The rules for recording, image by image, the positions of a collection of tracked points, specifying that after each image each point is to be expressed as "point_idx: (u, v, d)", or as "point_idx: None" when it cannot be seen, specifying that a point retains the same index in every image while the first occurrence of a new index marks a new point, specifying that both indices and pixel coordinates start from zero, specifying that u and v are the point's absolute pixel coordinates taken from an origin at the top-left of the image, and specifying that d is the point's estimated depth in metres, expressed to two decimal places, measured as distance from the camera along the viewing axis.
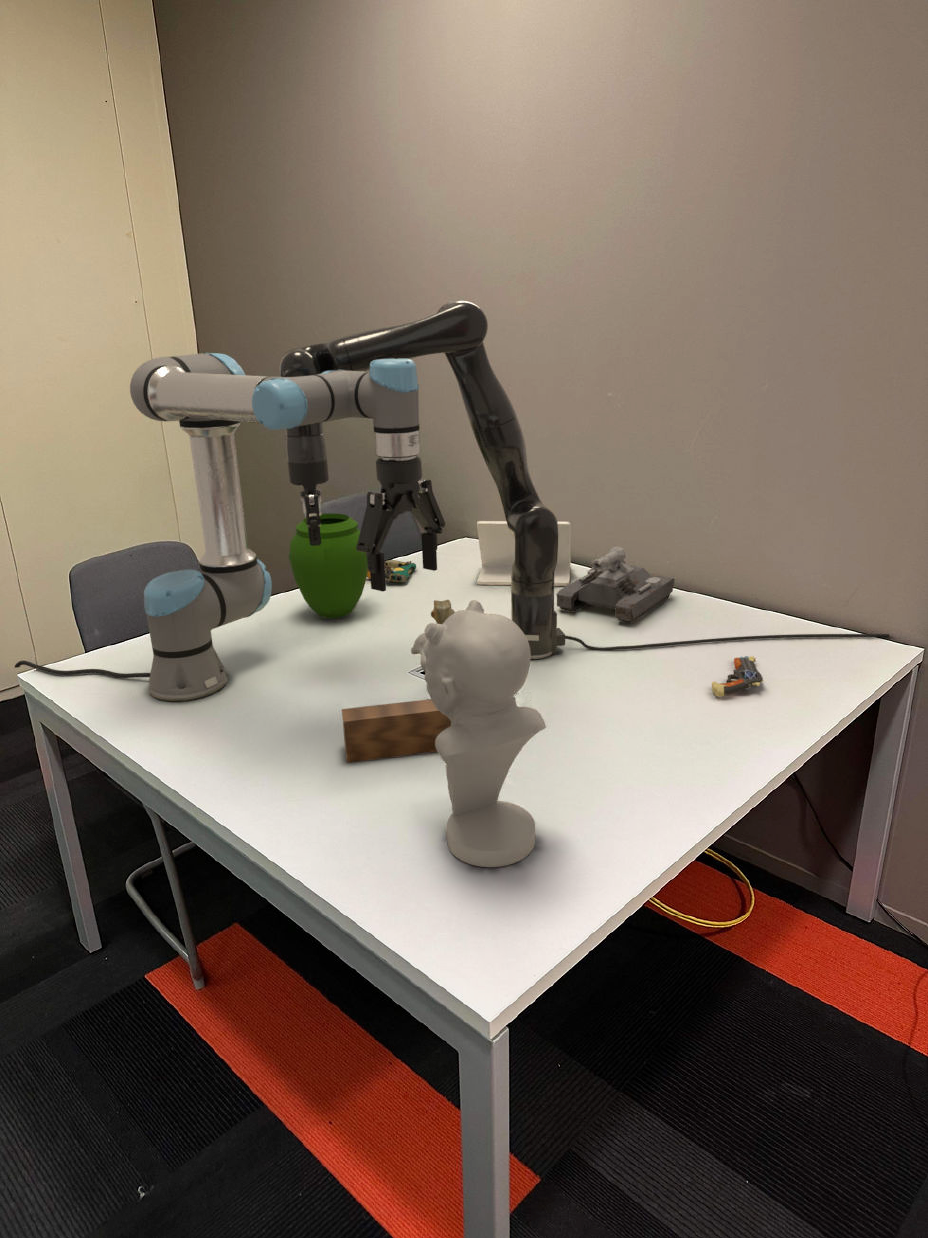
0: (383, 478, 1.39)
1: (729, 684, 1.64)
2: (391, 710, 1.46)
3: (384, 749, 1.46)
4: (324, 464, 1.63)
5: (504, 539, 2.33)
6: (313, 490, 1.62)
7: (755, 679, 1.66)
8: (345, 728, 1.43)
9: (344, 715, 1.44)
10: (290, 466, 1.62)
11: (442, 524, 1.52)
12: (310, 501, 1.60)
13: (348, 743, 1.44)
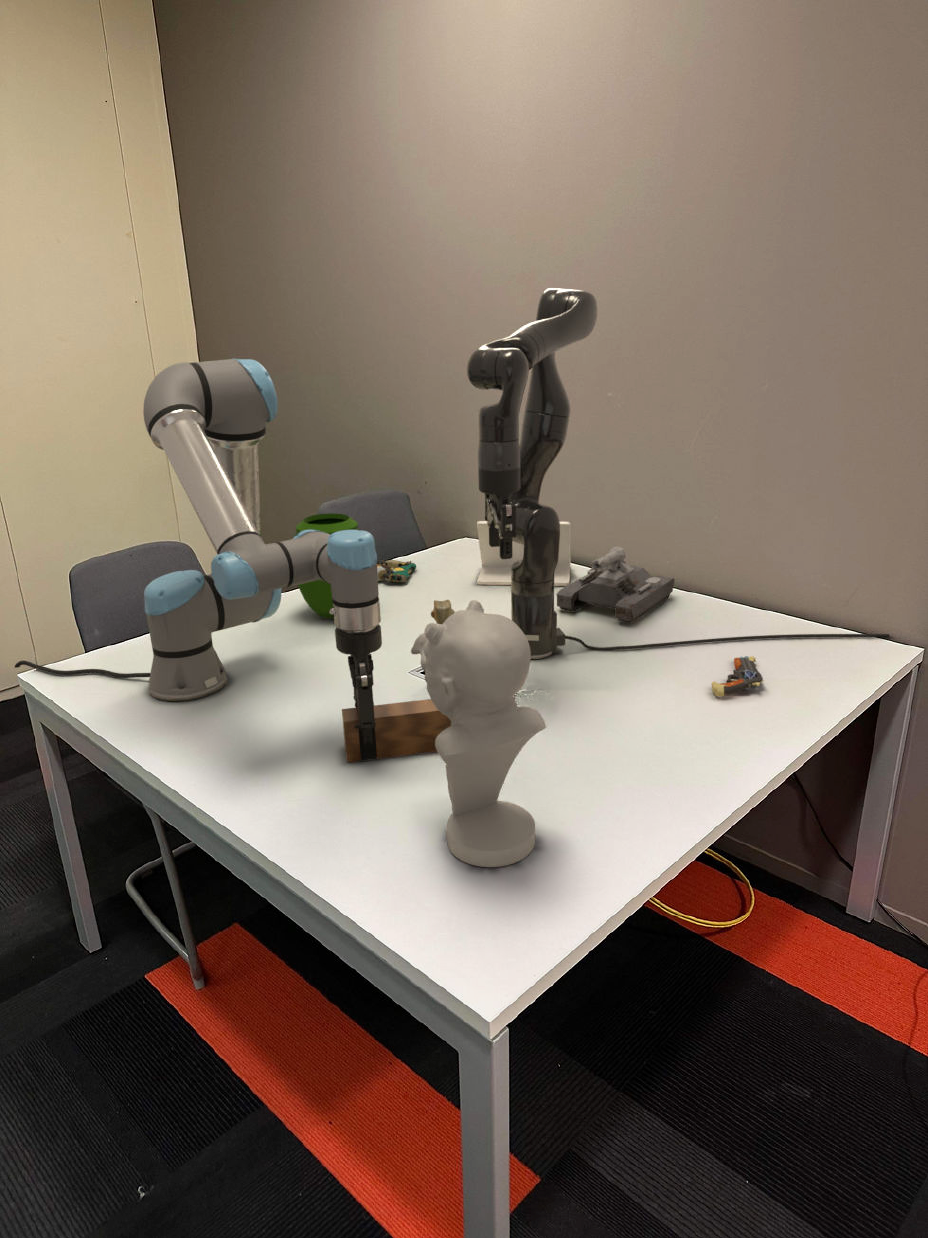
0: None
1: (729, 684, 1.64)
2: (391, 710, 1.46)
3: (384, 749, 1.46)
4: (519, 472, 1.51)
5: None
6: (507, 500, 1.51)
7: (755, 679, 1.66)
8: (345, 728, 1.43)
9: (344, 715, 1.44)
10: (483, 474, 1.51)
11: (359, 724, 1.40)
12: (507, 512, 1.48)
13: (348, 743, 1.44)
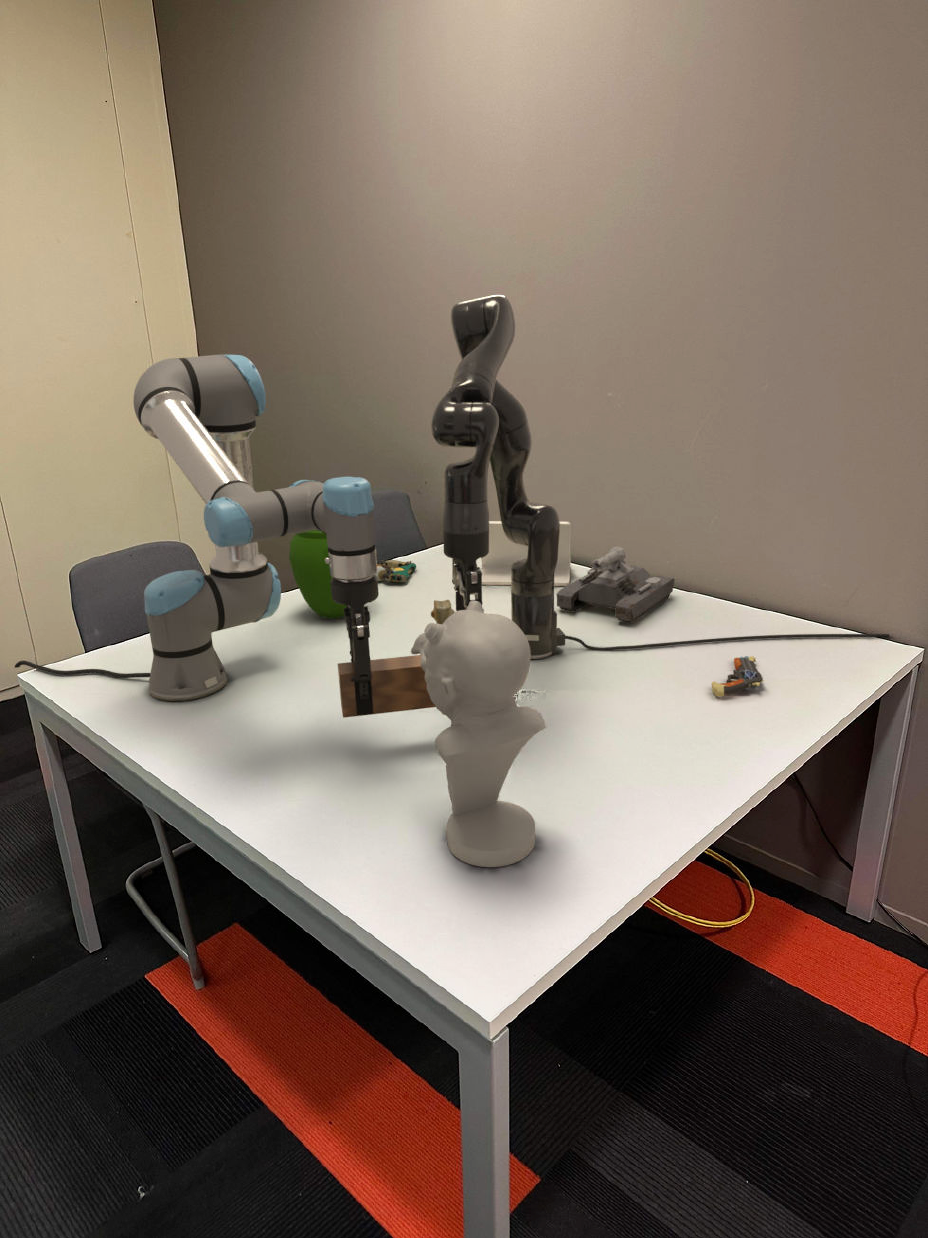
0: None
1: (729, 684, 1.64)
2: (388, 664, 1.43)
3: (381, 704, 1.43)
4: (487, 535, 1.39)
5: (504, 539, 2.33)
6: (474, 565, 1.39)
7: (755, 679, 1.66)
8: (341, 682, 1.40)
9: (340, 669, 1.41)
10: (448, 537, 1.38)
11: (355, 677, 1.37)
12: (472, 579, 1.36)
13: (344, 697, 1.41)
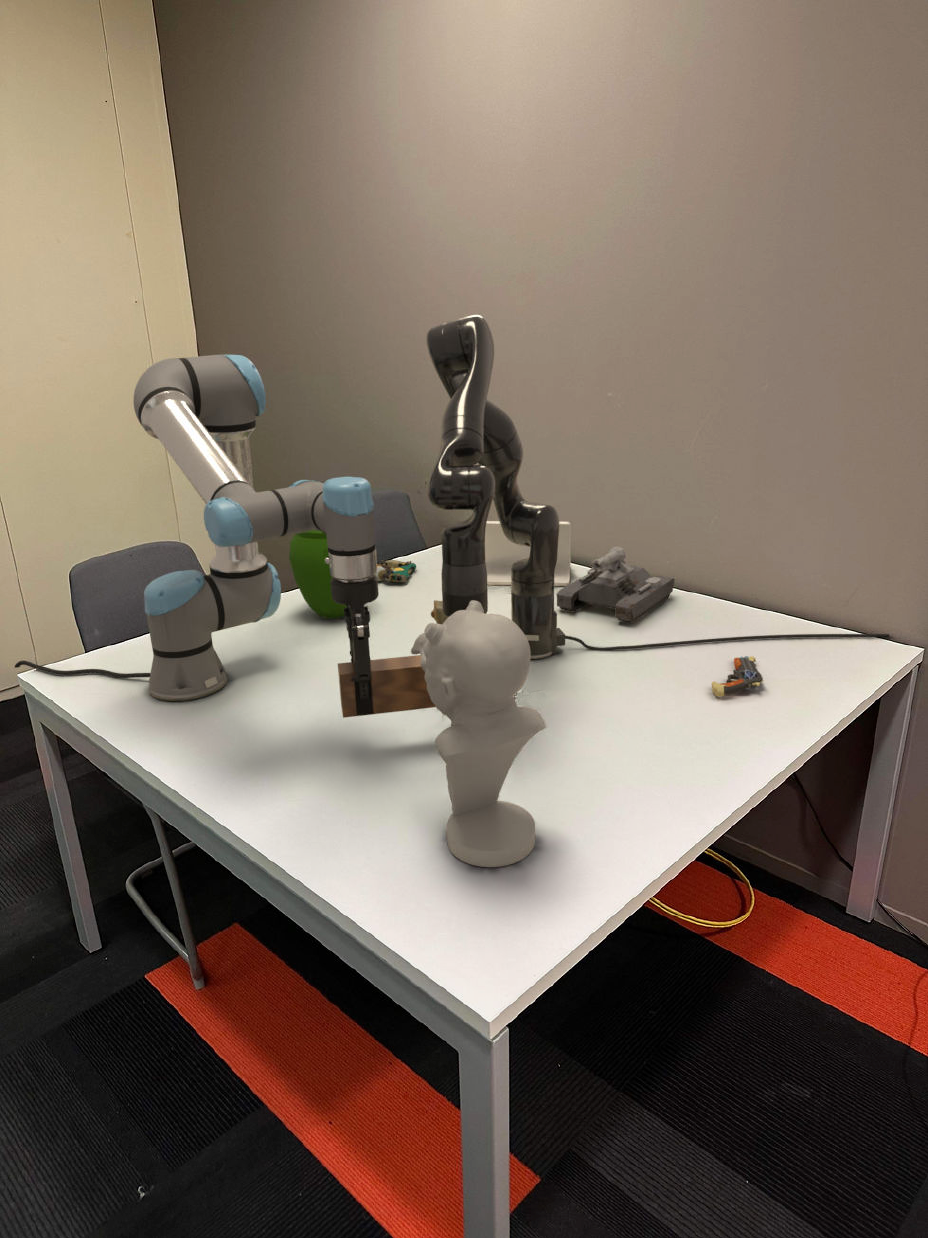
0: None
1: (729, 684, 1.64)
2: (388, 664, 1.43)
3: (381, 704, 1.43)
4: (485, 595, 1.40)
5: (504, 539, 2.33)
6: None
7: (755, 679, 1.66)
8: (341, 681, 1.40)
9: (340, 669, 1.41)
10: (447, 598, 1.39)
11: (355, 677, 1.37)
12: None
13: (344, 697, 1.41)
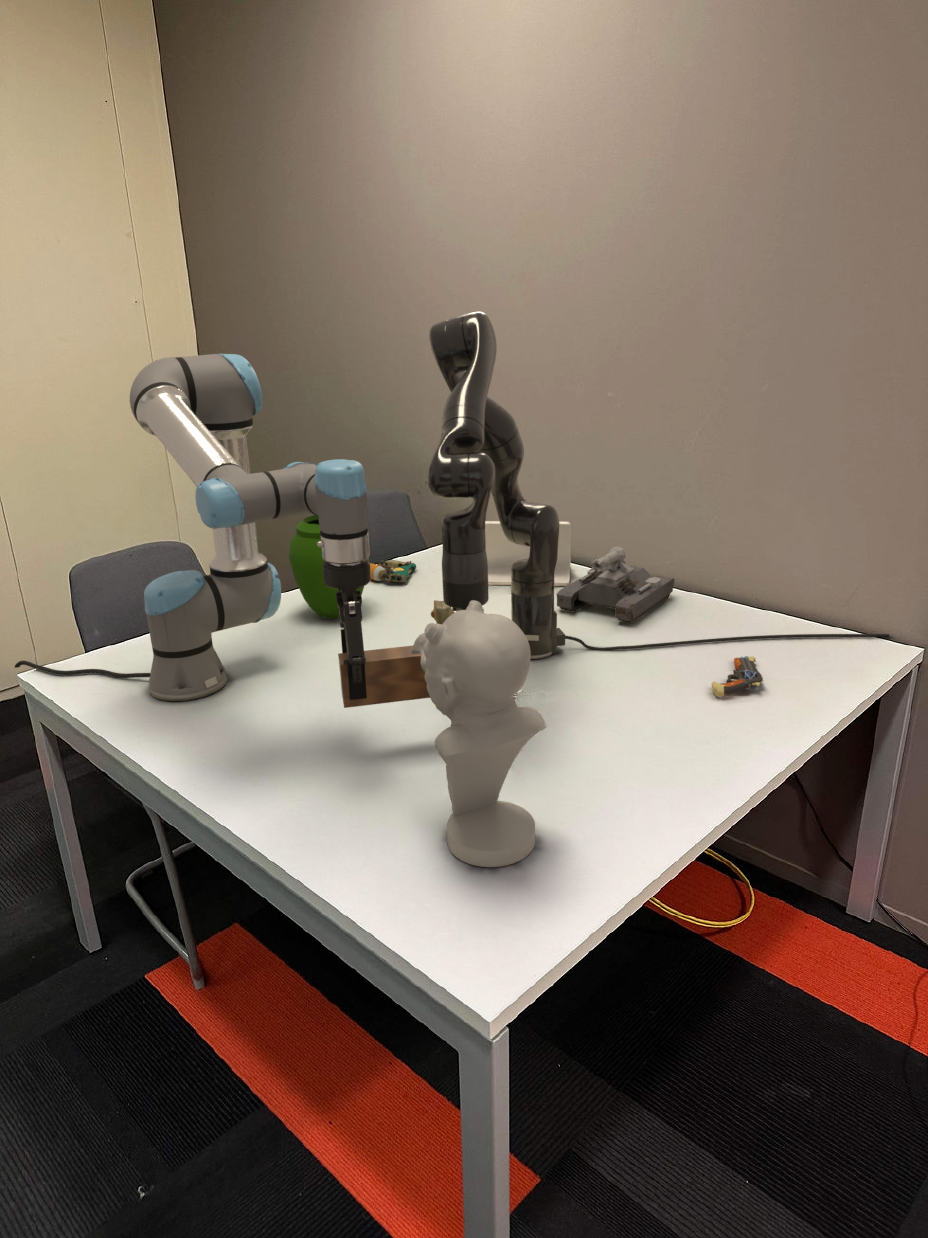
0: None
1: (729, 684, 1.64)
2: (389, 654, 1.42)
3: (382, 694, 1.42)
4: (486, 583, 1.39)
5: (504, 539, 2.33)
6: None
7: (755, 679, 1.66)
8: (342, 672, 1.39)
9: (340, 659, 1.41)
10: (447, 586, 1.38)
11: (348, 660, 1.32)
12: None
13: (345, 687, 1.40)
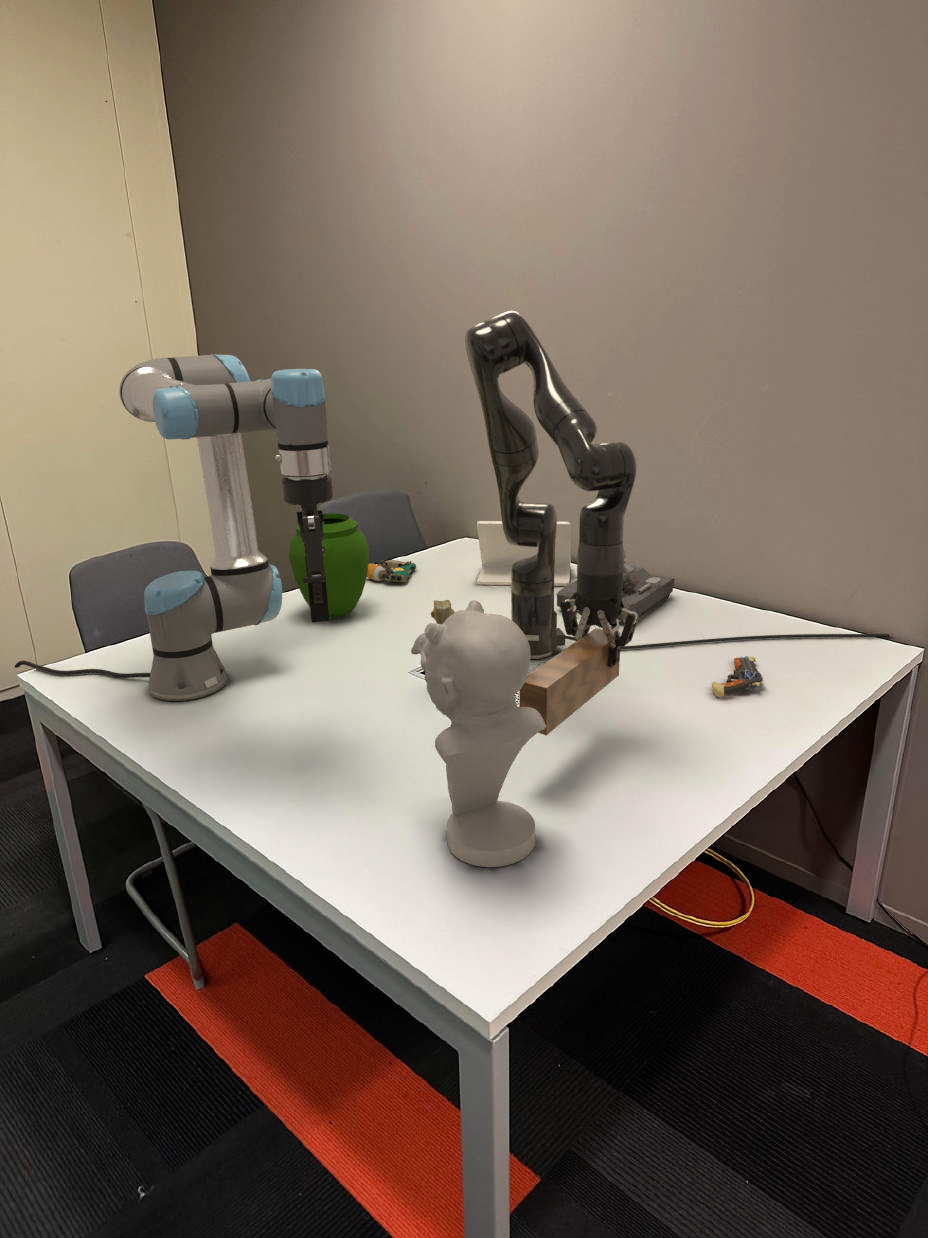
0: None
1: (729, 684, 1.64)
2: (561, 665, 1.33)
3: (567, 708, 1.33)
4: None
5: (504, 539, 2.33)
6: (623, 604, 1.39)
7: (755, 679, 1.66)
8: (547, 695, 1.26)
9: (534, 683, 1.27)
10: (600, 580, 1.36)
11: None
12: (634, 621, 1.38)
13: (548, 712, 1.28)
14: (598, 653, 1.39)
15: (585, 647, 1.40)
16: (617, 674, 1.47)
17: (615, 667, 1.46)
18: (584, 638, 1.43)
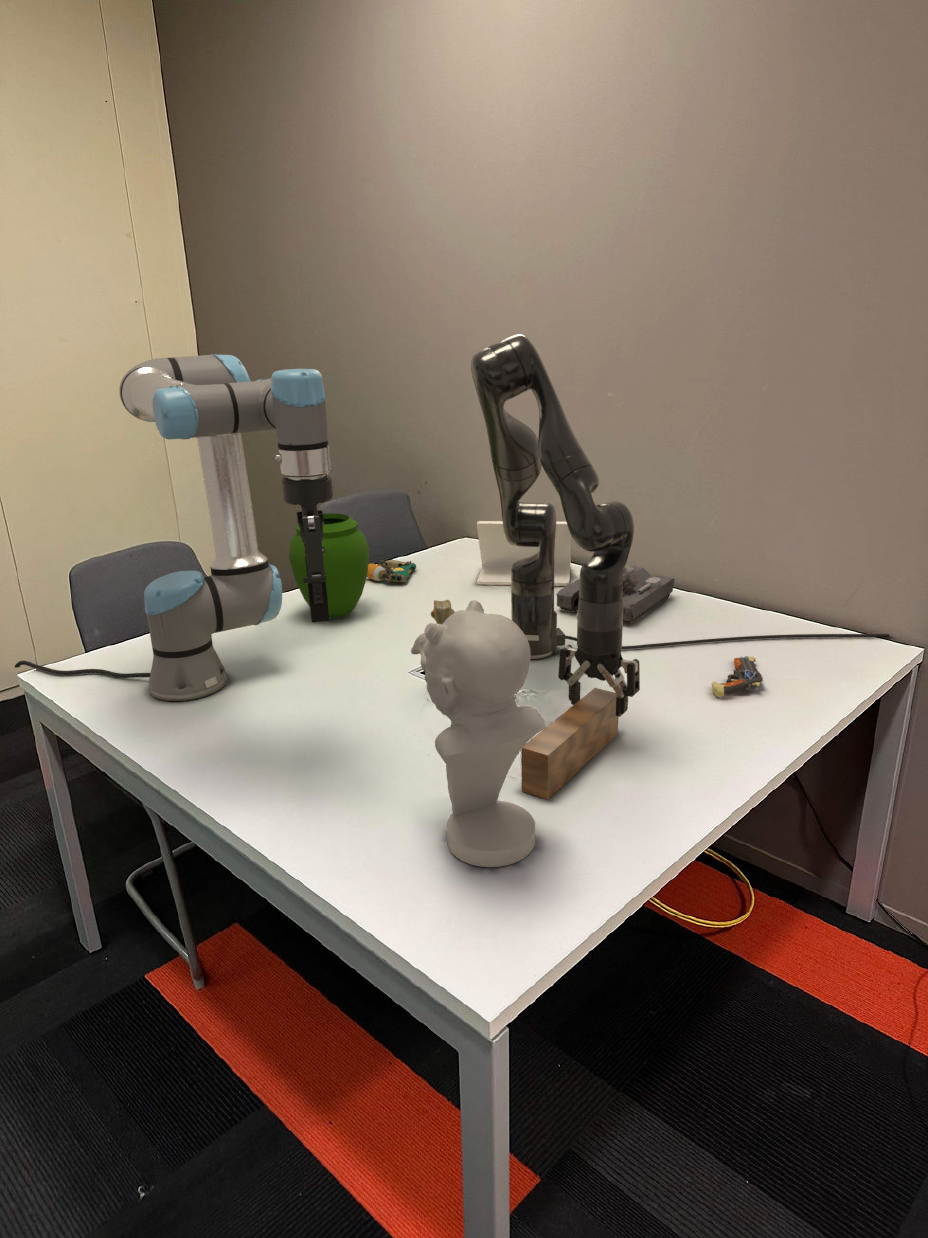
0: None
1: (729, 684, 1.64)
2: (561, 729, 1.37)
3: (567, 772, 1.37)
4: None
5: (504, 539, 2.33)
6: (621, 656, 1.43)
7: (755, 679, 1.66)
8: (548, 762, 1.30)
9: (536, 750, 1.31)
10: (600, 636, 1.39)
11: None
12: (635, 669, 1.41)
13: (549, 778, 1.32)
14: (597, 715, 1.43)
15: (585, 709, 1.44)
16: (616, 732, 1.51)
17: (614, 726, 1.50)
18: (584, 699, 1.47)
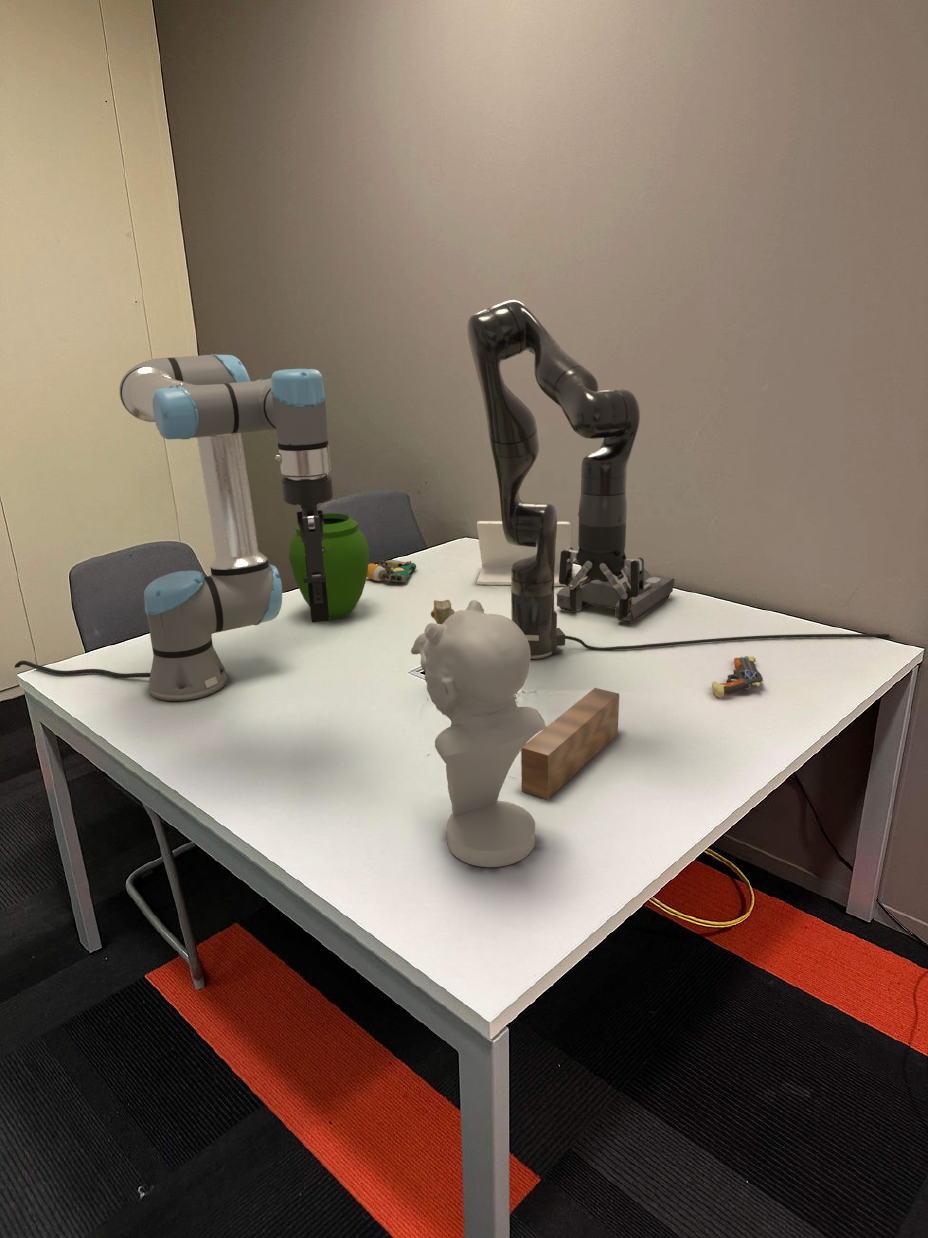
0: None
1: (729, 684, 1.64)
2: (561, 729, 1.37)
3: (567, 772, 1.37)
4: None
5: (504, 539, 2.33)
6: (624, 555, 1.37)
7: (755, 679, 1.66)
8: (548, 762, 1.30)
9: (536, 750, 1.31)
10: (603, 532, 1.33)
11: None
12: (640, 567, 1.35)
13: (549, 778, 1.32)
14: (597, 715, 1.43)
15: (585, 709, 1.44)
16: (616, 732, 1.51)
17: (614, 726, 1.50)
18: (584, 699, 1.47)
